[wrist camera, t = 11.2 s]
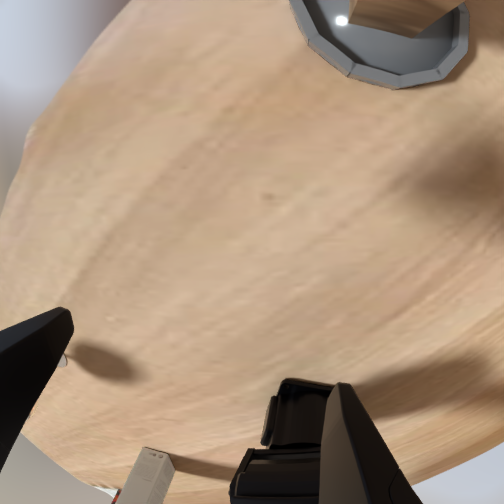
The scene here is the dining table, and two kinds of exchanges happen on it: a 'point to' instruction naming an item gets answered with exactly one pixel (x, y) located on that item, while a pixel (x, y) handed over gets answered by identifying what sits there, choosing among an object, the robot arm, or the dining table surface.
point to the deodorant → (116, 496)
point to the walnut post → (399, 14)
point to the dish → (382, 45)
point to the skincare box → (148, 479)
